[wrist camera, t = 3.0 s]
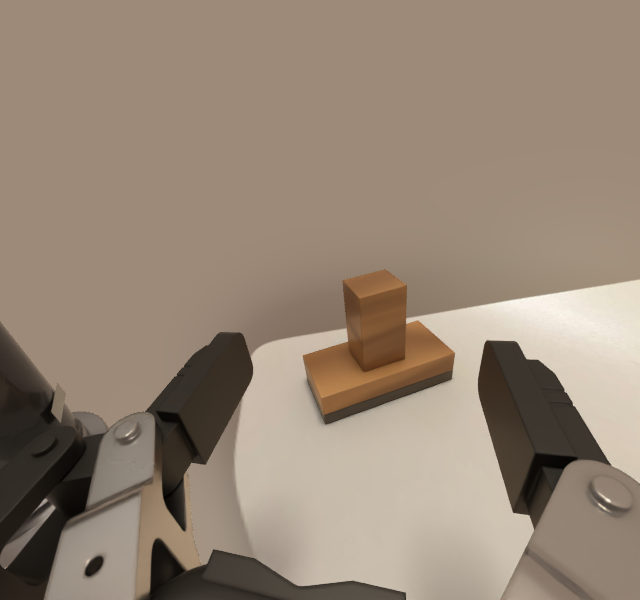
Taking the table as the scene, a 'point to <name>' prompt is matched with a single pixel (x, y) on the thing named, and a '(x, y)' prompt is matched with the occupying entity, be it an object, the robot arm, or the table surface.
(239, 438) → the table surface
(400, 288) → the eraser
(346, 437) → the table surface
